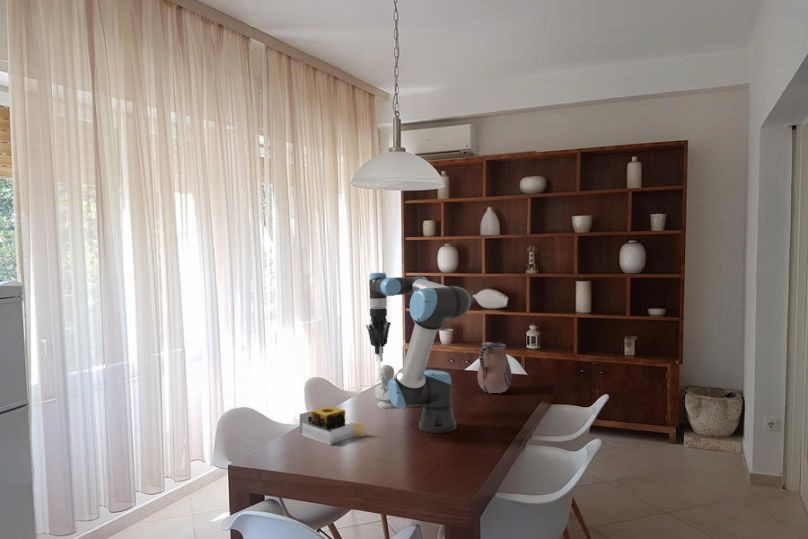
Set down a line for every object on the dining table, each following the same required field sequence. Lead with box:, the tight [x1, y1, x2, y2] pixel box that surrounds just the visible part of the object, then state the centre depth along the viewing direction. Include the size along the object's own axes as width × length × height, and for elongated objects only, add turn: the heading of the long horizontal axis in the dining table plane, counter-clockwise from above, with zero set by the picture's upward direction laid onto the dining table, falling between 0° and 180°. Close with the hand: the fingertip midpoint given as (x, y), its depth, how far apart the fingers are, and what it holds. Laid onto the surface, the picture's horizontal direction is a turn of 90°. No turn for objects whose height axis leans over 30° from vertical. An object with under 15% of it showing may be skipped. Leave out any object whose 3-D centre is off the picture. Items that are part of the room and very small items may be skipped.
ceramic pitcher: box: [476, 341, 513, 394], centre depth 285 cm, size 18×21×25 cm
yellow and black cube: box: [310, 405, 346, 430], centre depth 221 cm, size 10×10×10 cm
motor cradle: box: [299, 411, 365, 446], centre depth 222 cm, size 24×16×7 cm
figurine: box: [374, 364, 395, 409], centre depth 263 cm, size 9×13×20 cm
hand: (379, 361), depth 246 cm, fingers closed
